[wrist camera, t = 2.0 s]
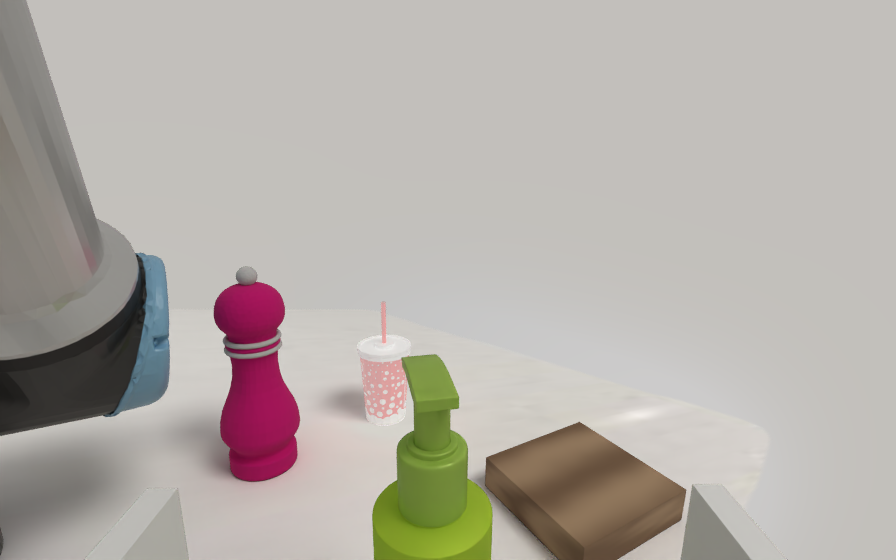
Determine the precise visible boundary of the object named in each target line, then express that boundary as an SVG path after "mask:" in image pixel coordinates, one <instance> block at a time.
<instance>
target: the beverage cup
mask: <svg viewBox="0 0 896 560" xmlns="http://www.w3.org/2000/svg"><path fill="white" fill-rule="evenodd" d="M385 307H386V306H385V302H384V301H383V302H381V317H382V335H376V336H371V337H367V338H365V339H363V340H361V341H360V342H359V343H358V344H357V351H358V355H359V356H360V359H361V369H362V379H363V389H364V398H365V408H366V418H367V420H368V421H369V422H370V423H373V424H375V425H381V426H386V425H393V424H396V423H398V422H400V421H401V420H403V418H404V417H405V410H406V393H407V377H406V374H405V372H404V369H403V368H402V360H401V357H409V353H410V352H411V349H410V348H411V342H410V341H409V340H408V339H406V338H405V337H401V336H398V335H386V308H385Z"/></svg>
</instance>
